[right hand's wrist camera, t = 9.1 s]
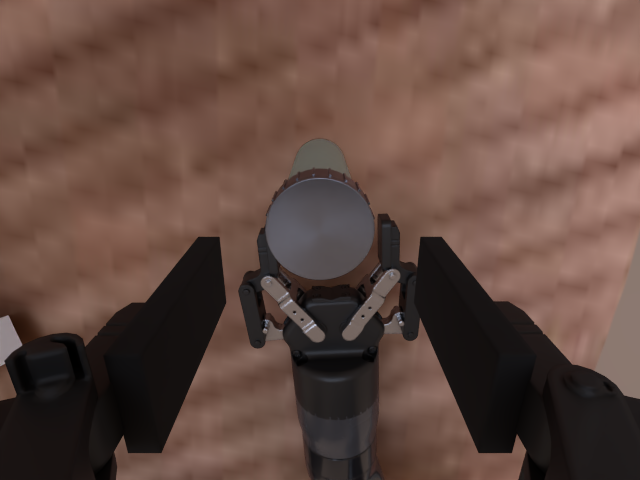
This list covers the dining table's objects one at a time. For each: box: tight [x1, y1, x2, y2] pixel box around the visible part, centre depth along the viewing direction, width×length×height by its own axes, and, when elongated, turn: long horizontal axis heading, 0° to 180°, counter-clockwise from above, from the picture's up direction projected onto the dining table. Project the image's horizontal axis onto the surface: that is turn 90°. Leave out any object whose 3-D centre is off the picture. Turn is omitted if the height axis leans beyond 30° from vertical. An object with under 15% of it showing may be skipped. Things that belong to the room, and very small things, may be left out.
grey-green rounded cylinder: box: [289, 139, 351, 179], centre depth 26 cm, size 4×4×16 cm
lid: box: [265, 167, 375, 280], centre depth 19 cm, size 5×5×2 cm
